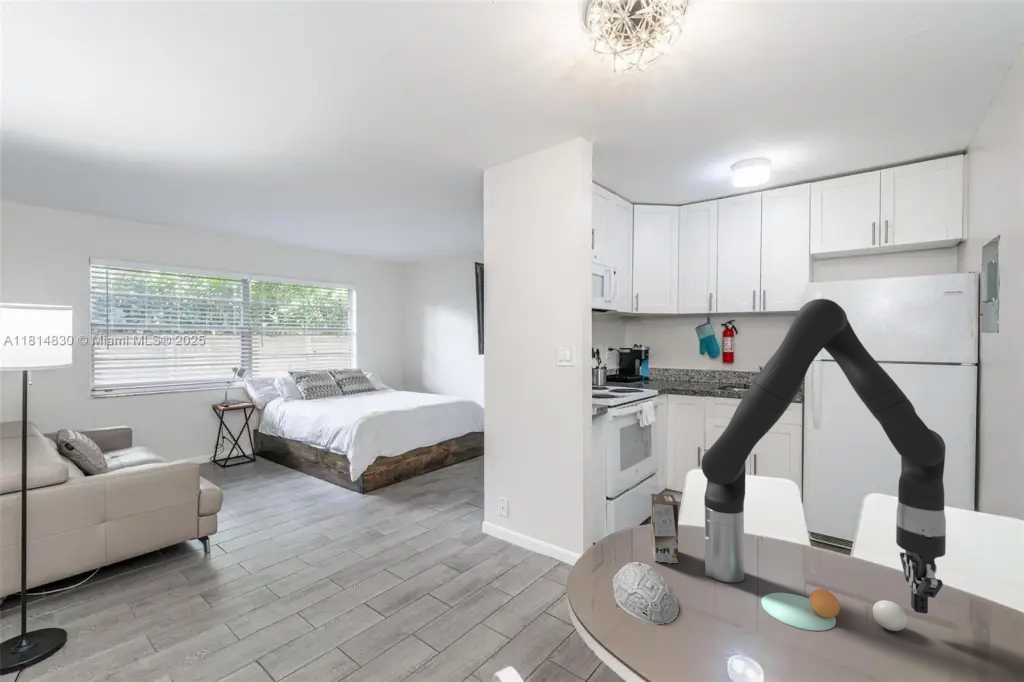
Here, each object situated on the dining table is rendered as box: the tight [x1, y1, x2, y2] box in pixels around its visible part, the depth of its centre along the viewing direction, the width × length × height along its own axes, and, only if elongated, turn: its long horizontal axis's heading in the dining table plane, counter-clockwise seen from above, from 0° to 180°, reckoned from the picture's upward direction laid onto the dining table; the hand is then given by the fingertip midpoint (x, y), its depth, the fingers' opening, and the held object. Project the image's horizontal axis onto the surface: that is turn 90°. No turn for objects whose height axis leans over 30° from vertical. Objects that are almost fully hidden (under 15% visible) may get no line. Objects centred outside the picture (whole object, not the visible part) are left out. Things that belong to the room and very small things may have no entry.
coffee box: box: [650, 493, 679, 564], centre depth 128 cm, size 9×6×16 cm
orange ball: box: [808, 588, 841, 618], centre depth 99 cm, size 6×6×6 cm
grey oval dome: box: [612, 561, 680, 625], centre depth 108 cm, size 16×25×7 cm, turn 176°
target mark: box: [760, 592, 837, 632], centre depth 101 cm, size 14×14×1 cm
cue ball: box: [872, 600, 908, 632], centre depth 95 cm, size 6×6×6 cm
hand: (919, 610), depth 93 cm, fingers closed
